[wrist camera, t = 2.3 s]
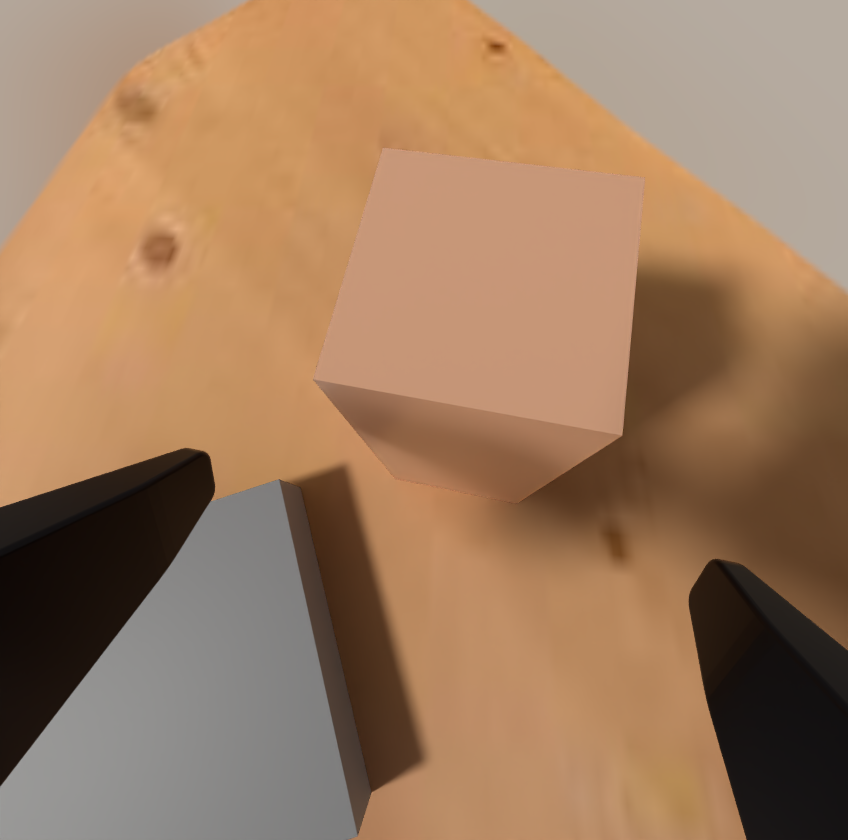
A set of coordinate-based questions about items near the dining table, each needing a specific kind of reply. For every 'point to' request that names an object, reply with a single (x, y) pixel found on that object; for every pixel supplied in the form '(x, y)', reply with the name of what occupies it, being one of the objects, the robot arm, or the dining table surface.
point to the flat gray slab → (208, 702)
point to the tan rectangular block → (486, 320)
